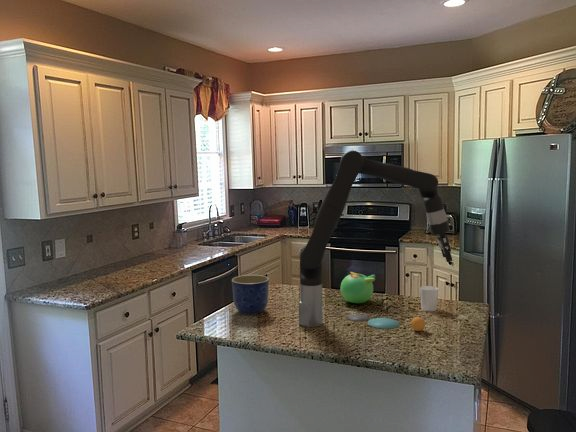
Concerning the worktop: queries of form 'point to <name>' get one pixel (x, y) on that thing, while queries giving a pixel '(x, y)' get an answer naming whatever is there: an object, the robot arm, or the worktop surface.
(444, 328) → the worktop surface
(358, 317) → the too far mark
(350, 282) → the toy bird
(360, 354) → the worktop surface
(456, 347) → the worktop surface
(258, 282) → the planter
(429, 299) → the white cup
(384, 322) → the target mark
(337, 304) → the worktop surface
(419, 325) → the ball
